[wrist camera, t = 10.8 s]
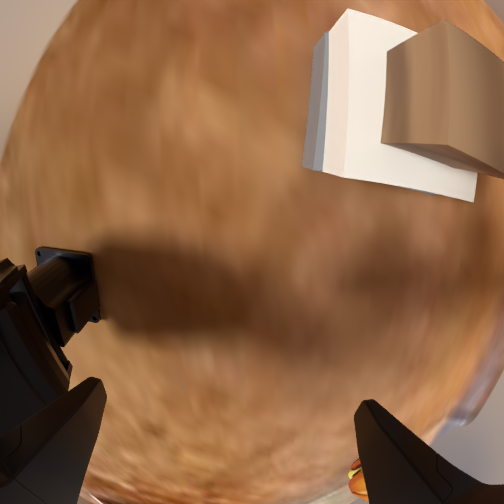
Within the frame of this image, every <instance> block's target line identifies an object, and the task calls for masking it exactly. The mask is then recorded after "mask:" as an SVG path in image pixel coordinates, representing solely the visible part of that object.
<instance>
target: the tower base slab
mask: <svg viewBox="0 0 504 504" xmlns="http://www.w3.org/2000/svg"><path fill="white" fill-rule="evenodd" d="M328 70H329V32H326V31H325V33H324V34H323V36H322V37H321V38H320V40H319V41H318V43H317V44H316V45H315V47H314V50H313V63H312V75H311V87H310V97H309V108H308V117H307V127H306V136H305V145H304V153H303V162H302V167H303V168H307V169H311V170H316V171H323V160H324V148H325V134H326V119H327V99H328ZM394 186H396V185H394ZM399 187H401V186H399ZM403 188H407V187H403ZM407 189H411V190H415V191H419V192H423V193H427V194H431V195H435V193H431V192H427V191H422V190H417V189H412V188H407Z"/></svg>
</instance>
